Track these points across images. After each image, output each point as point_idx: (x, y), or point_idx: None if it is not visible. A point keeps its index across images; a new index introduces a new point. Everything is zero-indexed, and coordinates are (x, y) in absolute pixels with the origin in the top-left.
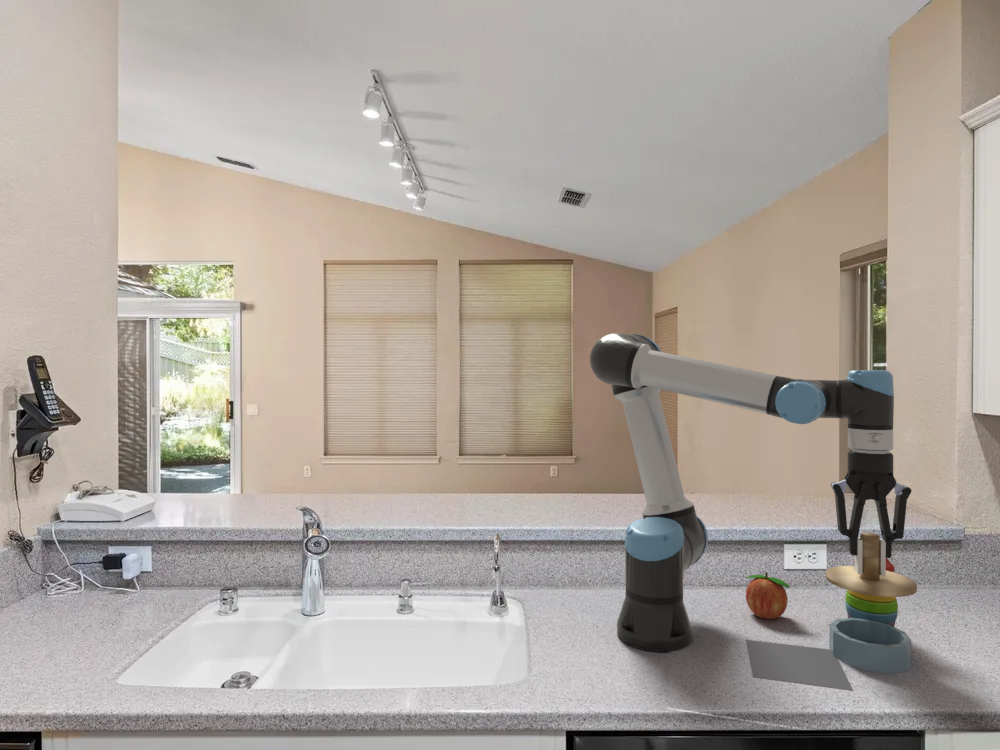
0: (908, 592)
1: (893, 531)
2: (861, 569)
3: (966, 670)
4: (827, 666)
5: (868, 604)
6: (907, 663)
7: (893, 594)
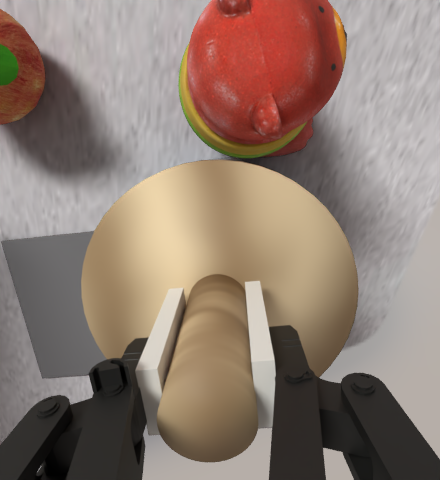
0: None
1: (345, 425)
2: None
3: (391, 214)
4: None
5: (231, 155)
6: None
7: None
